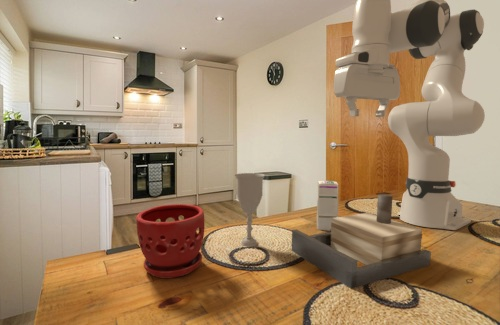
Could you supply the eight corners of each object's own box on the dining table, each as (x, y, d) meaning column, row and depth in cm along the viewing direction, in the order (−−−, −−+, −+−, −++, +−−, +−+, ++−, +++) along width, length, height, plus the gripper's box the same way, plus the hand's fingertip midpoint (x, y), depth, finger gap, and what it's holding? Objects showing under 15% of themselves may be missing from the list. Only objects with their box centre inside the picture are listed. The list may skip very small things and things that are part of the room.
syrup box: (337, 235, 79) (340, 184, 78) (316, 233, 80) (318, 183, 79) (335, 228, 84) (337, 180, 83) (315, 227, 86) (317, 180, 84)
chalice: (241, 256, 64) (242, 177, 63) (229, 245, 70) (230, 174, 69) (269, 250, 68) (270, 176, 66) (255, 241, 74) (256, 172, 72)
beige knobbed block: (366, 239, 73) (369, 189, 71) (420, 261, 60) (424, 201, 59) (330, 246, 67) (332, 193, 66) (380, 272, 55) (384, 206, 54)
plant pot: (152, 254, 65) (151, 203, 64) (209, 255, 64) (209, 204, 63) (125, 283, 52) (123, 220, 51) (197, 285, 51) (196, 221, 50)
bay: (360, 241, 75) (362, 218, 74) (429, 270, 58) (431, 242, 58) (291, 255, 65) (292, 230, 64) (350, 295, 49) (352, 261, 48)
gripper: (386, 67, 78) (384, 118, 80) (330, 59, 69) (328, 116, 70) (408, 62, 73) (405, 117, 74) (350, 53, 63) (348, 115, 65)
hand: (367, 116), depth 72 cm, fingers open, 8 cm apart
